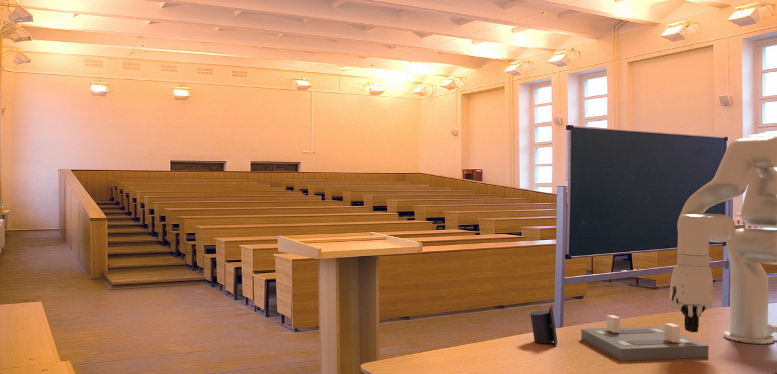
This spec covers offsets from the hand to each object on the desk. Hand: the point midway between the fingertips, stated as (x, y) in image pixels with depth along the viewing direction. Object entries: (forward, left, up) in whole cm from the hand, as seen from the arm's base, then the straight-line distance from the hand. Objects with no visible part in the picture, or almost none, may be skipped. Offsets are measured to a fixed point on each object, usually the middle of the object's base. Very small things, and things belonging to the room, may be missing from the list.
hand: (691, 331), depth 168 cm
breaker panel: (+10, -6, -6) cm, 13 cm away
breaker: (+15, -12, -2) cm, 20 cm away
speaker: (+34, -15, -6) cm, 38 cm away
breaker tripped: (+5, 0, -2) cm, 6 cm away
